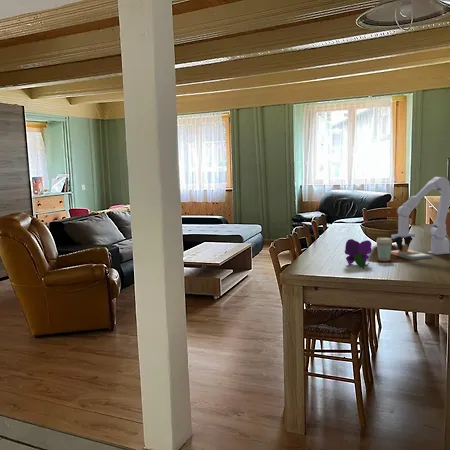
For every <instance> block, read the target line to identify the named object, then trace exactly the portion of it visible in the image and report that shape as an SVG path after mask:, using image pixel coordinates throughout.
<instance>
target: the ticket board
mask: <svg viewBox="0 0 450 450" xmlns="http://www.w3.org/2000/svg"><path fill="white" fill-rule="evenodd" d="M432 255H433V254H429V253H428V254H427V253H425V252H419V251H417V252H409V253H398V257H400V258H403V259H407V260H410V261H413V260H425V259H432Z"/></svg>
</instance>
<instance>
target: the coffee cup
mask: <svg viewBox="0 0 450 450" xmlns="http://www.w3.org/2000/svg"><path fill="white" fill-rule="evenodd" d="M375 242H376V249H377V258H378V260H379V261H381V262H388V261H390V260H391V255H392V254H391V251H392V245H393V238H391V237H385V236H384V237H377V238H376V241H375Z"/></svg>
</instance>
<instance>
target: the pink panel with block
mask: <svg viewBox="0 0 450 450" xmlns="http://www.w3.org/2000/svg"><path fill="white" fill-rule="evenodd" d="M409 252H418V251H416V250H413V249H409V248H408V245H407V244H405V243H402V250H398V249H396V250H391V254H390V255H393V256H398V253H409ZM398 257H399V256H398Z"/></svg>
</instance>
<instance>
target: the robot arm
mask: <svg viewBox="0 0 450 450" xmlns="http://www.w3.org/2000/svg"><path fill="white" fill-rule="evenodd" d="M434 190H437V191H438V192H439V193H440V198H439V202H438V208H437V211H436V216H435V220H434V222H433V223H432V225H431V227H430V228H429V234H430V236H431V237H430V251H429V250H428V251H427V253H428V254H431V255H438V256H439V255H445V254H447V255H448V254H450V240H449V239H448V238H447V237H446V236H447V232H448V231H447V224H446V220H447V217H448V210H449V207H450V181H449V180H448V178H446V177H445V176H434V177H432V179H430V180H429V181H428V182H427V183H426V184H425V185H424V186H423V187H422V188H421V189H420V191H419V192H417V194H415V195H412V196H410V197H408V199H407V200H406V201H405V202H404V203H402V205H401V206H399V207H398V208H397V210H396V212H397V214H398V220H397V221H398V222H397V223H398V224H397V226H398V227H397V228H398V229H397V233H396V234H395V233H394V234H391V237H390V238H391V239H392V240H393V239H394V241H395V244H396V246H397V250H402V244H407V245H408V249H409V248H410V244H411V242H412V241H413V238H415V237H416V233H414V232H412V233H410V229H409V228H410V217H409V216H410V215H411V213H412V211H413V210H414V209H415V208H416V207H417V206H418V205H420V202H421V200H422V199H423V198H424V197H425V196H426V195H427V194H428V193H430V191H434ZM403 241H404V243H403Z"/></svg>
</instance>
